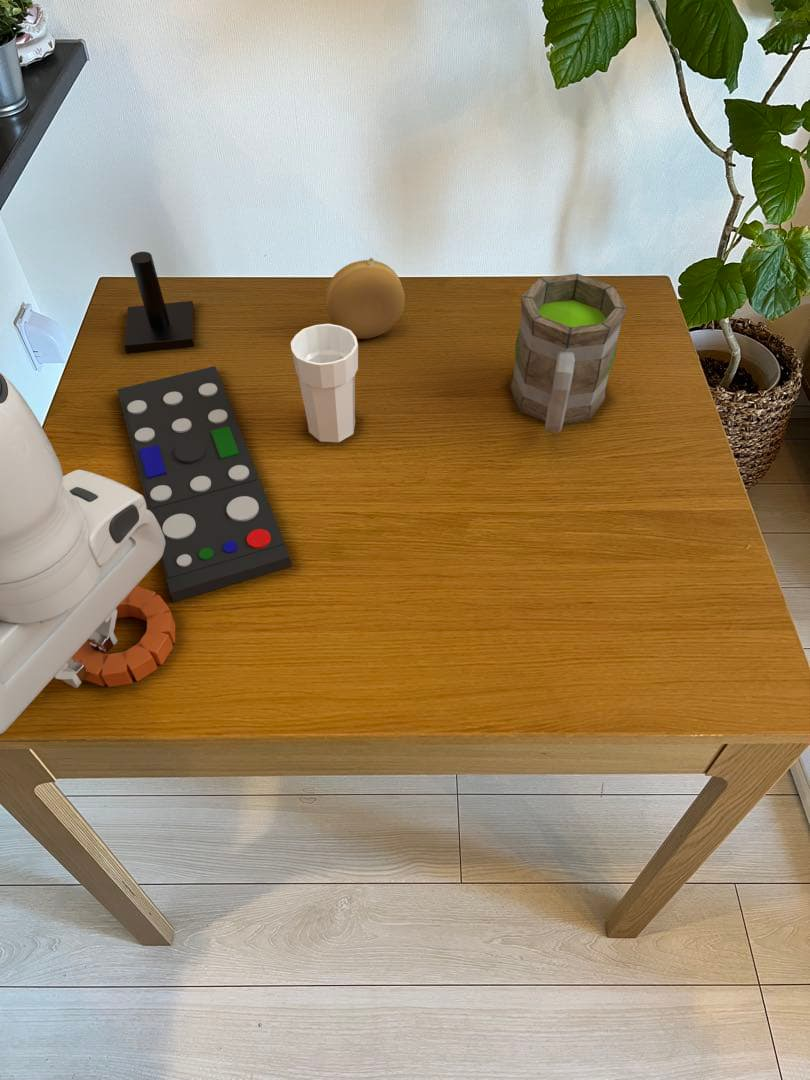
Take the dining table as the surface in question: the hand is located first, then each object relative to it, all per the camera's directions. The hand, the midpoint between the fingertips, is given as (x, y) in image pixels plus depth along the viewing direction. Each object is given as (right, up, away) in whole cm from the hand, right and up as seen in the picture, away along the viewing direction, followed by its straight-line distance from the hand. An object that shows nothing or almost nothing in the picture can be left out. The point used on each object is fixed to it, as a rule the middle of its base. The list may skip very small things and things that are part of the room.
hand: (91, 661), depth 67 cm
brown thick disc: (+22, +35, +32) cm, 52 cm away
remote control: (+5, +17, +16) cm, 24 cm away
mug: (+43, +25, +23) cm, 55 cm away
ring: (+2, +1, +3) cm, 4 cm away
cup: (+18, +22, +21) cm, 36 cm away
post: (-4, +36, +32) cm, 49 cm away
